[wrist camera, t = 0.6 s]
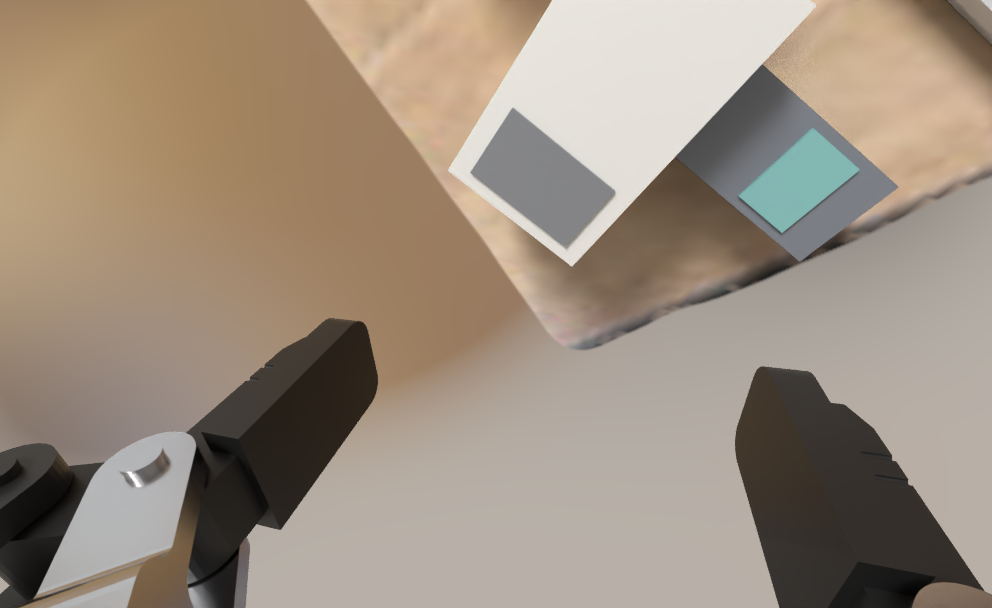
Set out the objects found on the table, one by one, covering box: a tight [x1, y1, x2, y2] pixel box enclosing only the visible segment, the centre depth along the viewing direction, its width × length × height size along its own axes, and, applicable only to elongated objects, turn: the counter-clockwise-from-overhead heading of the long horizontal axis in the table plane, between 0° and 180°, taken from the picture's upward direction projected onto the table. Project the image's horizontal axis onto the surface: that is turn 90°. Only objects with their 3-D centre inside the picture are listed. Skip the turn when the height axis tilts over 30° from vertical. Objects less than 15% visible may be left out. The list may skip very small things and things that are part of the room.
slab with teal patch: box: [675, 65, 898, 262], centre depth 23 cm, size 5×13×6 cm, turn 55°
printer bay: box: [448, 0, 817, 266], centre depth 22 cm, size 14×8×9 cm, turn 145°
